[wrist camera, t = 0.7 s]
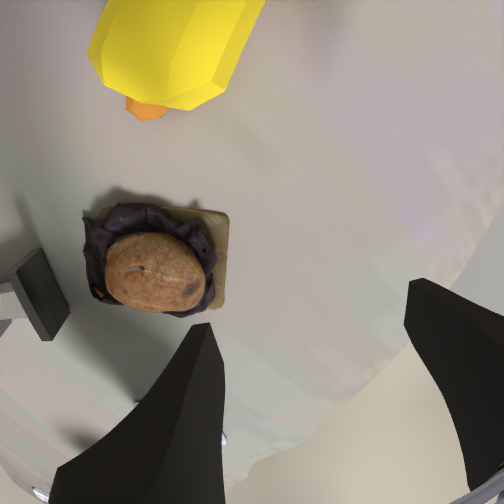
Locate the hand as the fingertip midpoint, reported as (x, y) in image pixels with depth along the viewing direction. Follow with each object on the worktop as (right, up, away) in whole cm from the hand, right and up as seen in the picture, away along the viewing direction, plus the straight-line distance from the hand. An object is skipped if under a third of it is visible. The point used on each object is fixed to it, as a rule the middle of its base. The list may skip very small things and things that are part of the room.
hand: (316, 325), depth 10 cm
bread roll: (-9, +2, +11) cm, 14 cm away
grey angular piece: (-23, -1, +10) cm, 25 cm away
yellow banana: (-5, +18, +3) cm, 19 cm away
